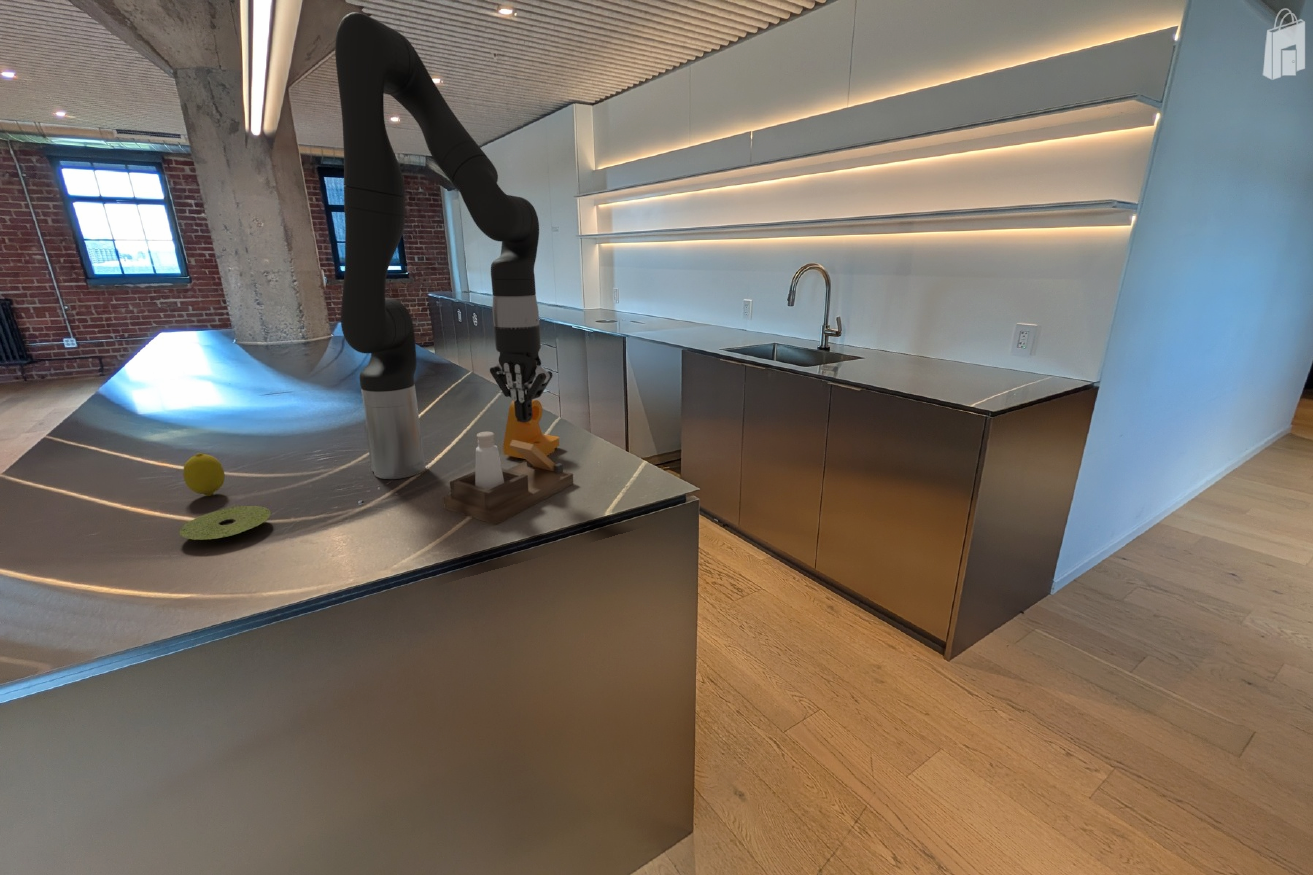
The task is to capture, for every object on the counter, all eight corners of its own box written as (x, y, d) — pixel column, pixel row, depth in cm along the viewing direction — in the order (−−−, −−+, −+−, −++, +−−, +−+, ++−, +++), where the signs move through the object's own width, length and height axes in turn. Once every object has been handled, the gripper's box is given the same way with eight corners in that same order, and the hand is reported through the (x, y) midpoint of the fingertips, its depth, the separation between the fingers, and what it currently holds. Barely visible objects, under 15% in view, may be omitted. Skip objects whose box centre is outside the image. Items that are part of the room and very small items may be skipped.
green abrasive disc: (262, 543, 83) (259, 531, 83) (169, 556, 79) (165, 544, 79) (280, 511, 93) (278, 501, 93) (199, 522, 89) (195, 510, 89)
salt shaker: (511, 489, 98) (507, 429, 95) (499, 502, 93) (494, 439, 90) (482, 487, 99) (476, 427, 96) (468, 500, 94) (462, 437, 90)
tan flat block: (509, 445, 102) (512, 439, 102) (534, 467, 109) (538, 461, 109) (530, 450, 99) (533, 443, 100) (555, 472, 107) (558, 466, 107)
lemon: (186, 504, 95) (174, 460, 93) (193, 492, 100) (182, 450, 98) (226, 498, 98) (215, 455, 95) (231, 487, 103) (221, 446, 100)
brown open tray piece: (444, 507, 95) (441, 480, 94) (525, 471, 112) (523, 447, 110) (495, 524, 90) (493, 496, 88) (573, 483, 106) (572, 458, 105)
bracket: (531, 463, 116) (528, 407, 112) (503, 458, 119) (499, 403, 115) (561, 448, 125) (559, 396, 122) (534, 443, 128) (531, 392, 125)
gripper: (561, 322, 95) (566, 421, 100) (503, 318, 101) (511, 411, 106) (531, 327, 89) (538, 432, 94) (471, 323, 95) (481, 421, 100)
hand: (524, 421), depth 100 cm, fingers closed
